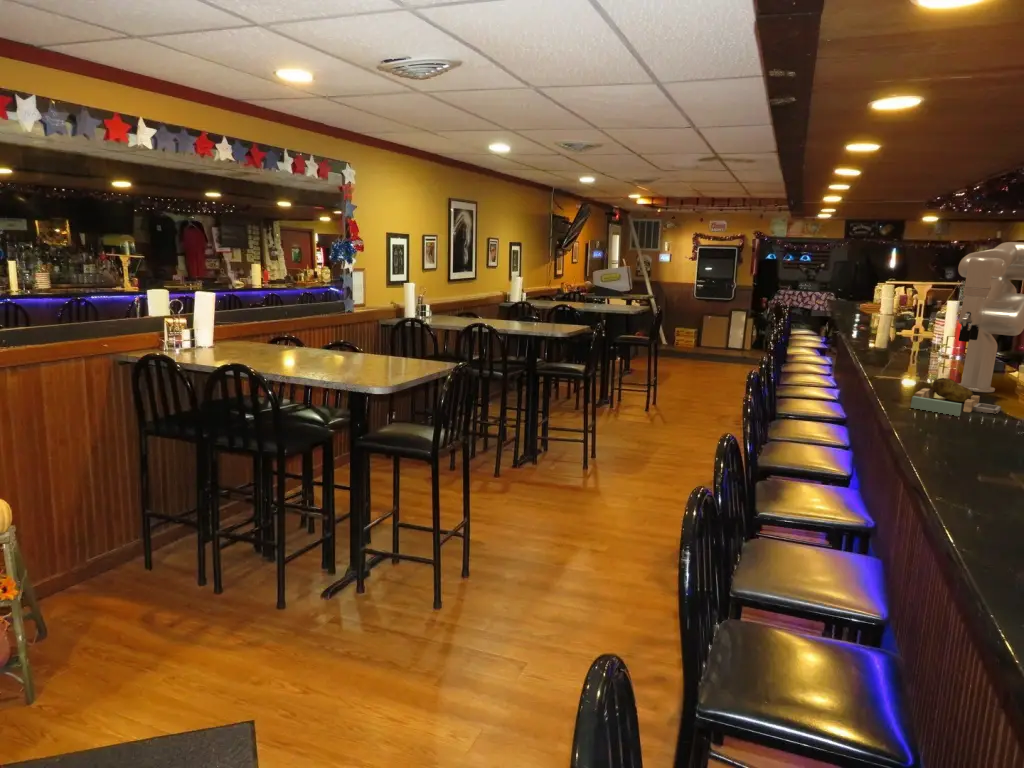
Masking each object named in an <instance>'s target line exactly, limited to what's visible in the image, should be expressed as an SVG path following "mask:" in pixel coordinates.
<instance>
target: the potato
mask: <svg viewBox="0 0 1024 768" xmlns="http://www.w3.org/2000/svg"><path fill="white" fill-rule="evenodd" d="M932 389H933V390H932V391H933V393H934V394H936V395H937V396H939V397H942V398H944V399H946V400H947V401H949V402H955V403H965V401H966V400H967V399H970V400H971V396H973V395H974V393H973V391H971V390H969V389H968V388H966V387H963V386H961V385H959V384H958V382H956V381H954V380H953V379H951V378H946V377H940V378H937V379H935V380H934V381H933V383H932Z"/></svg>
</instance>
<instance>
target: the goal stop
mask: <svg viewBox="0 0 1024 768" xmlns="http://www.w3.org/2000/svg"><path fill="white" fill-rule="evenodd" d="M910 401H911V402H910V408H914V409H913V410H916V409H920V410H919V411H922V410H926V411H925V412H928V411H932V412H931V413H934V412H938V413H937V414H940V413H943V414H942V415H946V414H949V415H948V416H952V415H954V416H953V417H958V416H959V417H960V416H961V412H962V407H963V406H962V405H963V403H962V402H954V401H949V400H941V399H935V398H930V397H929V398H923V397H916V396H914V395H912V397H911V400H910Z"/></svg>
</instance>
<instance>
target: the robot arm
mask: <svg viewBox="0 0 1024 768" xmlns="http://www.w3.org/2000/svg"><path fill="white" fill-rule="evenodd" d="M957 269H958V270H957V271H958V274H959V275H960V276H961V277H962V278H965V282H964V288H963V294H962V297H963V300H962V301H963V302H962V305H961V309H960V314H959V319H958V323H959V324H960V329H959V335H958V341H959V342H965V343H967V347H966V348H967V349H966V353H965V359H964V364H963V365H964V366H963V372H962V377H961V382H960V383H959V382H957V384H959V385H961V386H963V387H966V388H968V389H969V390H971V391H972V392H975V393H994V392H995V390H996V388H995V387H992V386H991V385H992V380H993V379H992V378H993V374H994V369H995V363H996V356H997V352H998V342H997V341H996V339H995V337H994V336H993V335H1000V336H1001V335H1003V336H1012V337H1013V336H1015V337H1016V336H1018V335H1020V334H1022V332H1023V331H1024V293H1018V292H1017V288H1016V286H1015V285H1014V284H1013V283H1012V282H1011V281H1010V280H1016V281H1024V242H1022V241H1021V242H1019V241H1018V242H1017V241H1008V242H1007V241H1006V242H1002V243H1000V244H998V245H997V246H995V247H993V248H991V249H987V250H986V249H985V250H981V251H975V252H970V253H968V254H967V255H965V256H964V257H962V258H961V260H960V261H959V264H958V268H957Z"/></svg>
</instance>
